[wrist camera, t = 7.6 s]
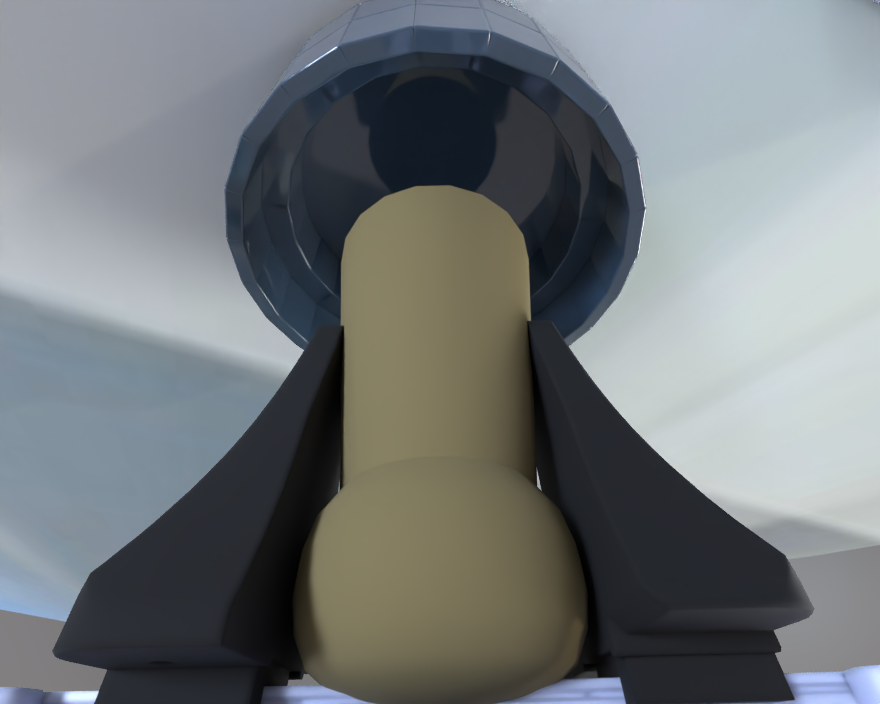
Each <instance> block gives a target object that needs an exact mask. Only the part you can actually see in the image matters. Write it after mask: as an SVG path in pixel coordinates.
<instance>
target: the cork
mask: <svg viewBox="0 0 880 704" xmlns="http://www.w3.org/2000/svg"><path fill="white" fill-rule="evenodd" d="M527 321H531V309H530V282H529V258H528V254H527V249H526V245H525V240H524V236H523V234H522V232H521V231H520V229H519V228H518V226H517V225H516V224H515V222H514V221H513V219H512V218H511V216H510V215H509V214H508V212H507V211H505V210H504V209H502V208H501V207H499V206H498V205H496V204H495V203H494V202H492V201H491V200H489V199H488V198H486V197H485V196H484V195H482V194H478V193H475V192H471V191H468V190H465V189H461V188H458V187H454V186H451V185H445V186H415V187H412V188H409V189H406V190H403V191H400V192H397V193H394V194H391V195H388V196H385V197H383V198H382V199H381V200H379V201H378V202H377V203H375V204H374V205H373V206H371V207H370V208H369V209H367V210H366V211H365V212H363V213H362V214H361V215H360V216H359V217H358V219H357V221H356V222H355V224H354V225H353V227H352V228H351V230H350V232H349V233H348V235H347V236H346V238H345V243H344V249H343V255H342V260H341V325H343V326H344V333H343V351H342V368H341V387H340V491H339V492H338V493H337V494H336V495H335V496H334V497H333V499H332V500H331V501H330V502H329V503H328V504H327V505H326V506H325V507H324V508H323V509H322V510H321V511H320V512H319V513H318V515H317V517H316V519H315V522H314V524H313V526H312V528H311V531H310V533H309V535H308V538H307V540H306V542H305V544H304V547H303V550H302V554H301V558H300V562H299V567H298V572H297V577H296V582H295V587H294V592H293V597H292V611H293V636H294V639H295V642H296V645H297V648H298V651H299V654H300V657H301V660H302V663H303V666H304V669H305V671H306V672H307V673H308V674H309V675H310V676H311V677H312V678H314V679H315V680H316V681H317V682H318V683H319V684H320V685H322V686H324V687H325V688H328V689H331V690H334V691H337V692H340V693H343V694H346V695H348V696H351V697H353V698H355V699H358V700H361V701H365V702H369V703H375V704H495V703H499V702H504V701H508V700H513V699H517V698H520V697H523V696H526V695H528V694H530V693H533V692H535V691H537V690H539V689H541V688H544V687H547V686H549V685H552V684H554V683H557V682H559V681H560V680H561V679H564V678H565V677H566V676H567V675H568V674H569V673H570V672H571V671H572V670H573V669H574V668H575V667H576V666H577V664H578V661H579V658H580V655H581V651H582V648H583V645H584V641H585V638H586V635H587V631H588V590H587V586H586V581H585V577H584V573H583V568H582V564H581V560H580V556H579V553H578V549H577V546H576V543H575V541H574V538H573V536H572V534H571V532H570V530H569V528H568V526H567V524H566V522H565V519H564V517H563V515H562V513H561V511H560V509H559V508H558V507H557V506H556V505H555V504H554V503H553V502H552V501H551V500H550V499H549V498H548V497H547V496H546V495H545V494H544V493H543V492H542V491H541V490H540V489H539V488H538V487H537V470H536V443H535V416H534V390H533V373H532V365H531V356H530V345H529V335H528V324H527Z"/></svg>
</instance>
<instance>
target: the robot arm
mask: <svg viewBox="0 0 880 704" xmlns="http://www.w3.org/2000/svg"><path fill="white" fill-rule="evenodd" d="M872 1H873V2H875V3H877V4H879V5H880V0H872ZM527 324H528V335H529V345H530V356H531V365H532V373H533V390H534V416H535V443H536V467H537V471H538V475H539V480H540V485H541V490H542V492H543V493H544V494H545V495H546V496H547V497H548V498H549V499H550V500H551V501H552V502H553V503H554V504H555V505H556V506H557V507H558V508H559V509H560V511H561V513H562V515H563V517H564V519H565V522H566V524H567V526H568V528H569V530H570V532H571V534H572V536H573V538H574V541H575V543H576V546H577V549H578V553H579V556H580V560H581V564H582V568H583V573H584V577H585V581H586V586H587V590H588V631H587V635H586V638H585V641H584V645H583V648H582V651H581V655H580V658H579V661H578V664H577V666H576V667H575V668H574V669H573V670H572V671H571V672H570V673H569V674H568V675H567V676H566V677H565V678H564V679H561V680H560V681H559V682H557V683H554V684H552V685H549V686H547V687H544V688H541V689H539V690H537V691H535V692H533V693H530V694H528V695H526V696H523V697H520V698H517V699H513V700H508V701H504V702H499V703H495V704H880V665H871V666H862V667H855V668H851V669H846V670H845V672H813V673H783V671H782V669H781V666H780V664H779V662H778V660H777V657H776V655H775V653H777V652H781V646H780V644H779V642H778V639H777V637H776V635H775V633H774V630H775V629H778V628H781V627H784V626H787V625H790V624H792V623H795V622H799V621H801V620H803V619H806V618H808V617H809V616H810V615H811V614H812V613H813V611H814V607H813V605H812V603H811V602H810V600H809V598H808V596H807V594H806V592H805V590H804V588H803V585H802V583H801V582H800V580H799V578H798V576H797V574H796V572H795V571H794V569H793V568H792V566H791V565H790V563H789V561H788V559H787V558H786V556H785V555H784V554H783V553H781V552H780V551H778V550H777V549H776V548H774V547H773V546H771V545H770V544H769V543H767V542H766V541H764V540H763V539H762V538H760V537H759V536H758V535H756V534H755V533H753V532H752V531H751V530H749V529H748V528H746V527H745V526H744V525H742V524H741V523H739V522H738V521H737V520H735V519H734V518H733V517H731V516H730V515H729V514H727V513H726V512H725V511H724V510H722V509H721V508H720V507H719V506H717V505H716V504H715V503H714V502H712V501H711V500H710V499H709V498H707V497H706V496H705V495H704V494H703V493H701V492H700V491H699V490H698V489H697V488H696V487H695V486H693V485H692V484H691V483H690V482H689V481H688V480H687V479H685V478H684V477H683V476H682V475H681V474H680V473H679V472H677V471H676V470H675V469H674V468H673V467H672V466H670V465H669V464H668V463H667V462H666V461H665V460H664V459H663V458H662V457H661V456H660V455H659V454H658V453H657V452H656V451H655V450H654V449H653V448H652V447H651V446H650V445H649V444H648V443H647V442H646V441H645V440H644V439H643V438H642V437H641V436H640V435H639V434H638V433H637V432H636V431H635V430H634V429H633V428H632V427H631V426H630V425H629V424H628V422H627V421H626V420H625V419H624V418H623V417H622V416H621V415H620V413H619V412H618V411H617V410H616V409H615V408H614V406H613V405H612V404H611V403H610V402H609V400H608V399H607V398H606V397H605V396H604V394H603V393H602V392H601V391H600V389H599V388H598V387H597V385H596V384H595V383H594V382H593V380H592V379H591V378H590V376H589V375H588V374H587V372H586V371H585V370H584V368H583V367H582V365H581V364H580V363H579V361H578V360H577V358H576V357H575V356H574V354H573V353H572V351H571V350H570V348H569V347H568V345H567V344H566V342H565V341H564V339H563V338H562V336H561V334H560V333H559V331H558V330H557V328H556V326H555V325H554V323H553V322H552V321H551V320H546V321H527ZM343 333H344V326H343V325H340V326H320V327H319V328H318V329H317V330H316V332H315V334H314V335H313V337H312V339H311V340H310V342H309V344H308V345H307V347H306V349H305V350H304V352H303V354H302V355H301V357H300V358H299V360H298V361H297V363H296V365H295V366H294V368H293V369H292V371H291V372H290V374H289V375H288V376H287V378H286V379H285V381H284V382H283V384H282V385H281V387H280V388H279V390H278V391H277V392H276V394H275V395H274V397H273V398H272V399H271V400H270V402H269V403H268V404H267V406H266V407H265V408H264V410H263V411H262V412H261V414H260V415H259V416H258V417H257V419H256V420H255V421H254V423H253V424H252V425H251V426H250V427H249V429H248V430H247V431H246V432H245V433H244V434H243V436H242V437H241V438H240V439H239V440H238V441H237V442H236V444H235V445H234V446H233V447H232V448H231V449H230V450H229V451H228V453H227V454H226V455H225V456H224V457H223V458H222V459H221V460H220V461H219V462H218V463H217V464H216V465H215V466H214V467H213V468H212V469H211V470H210V471H209V472H208V473H207V474H206V475H205V476H204V477H203V478H202V479H201V480H200V481H199V482H198V483H197V484H196V485H195V486H194V487H193V488H192V489H191V490H190V491H189V492H188V493H187V494H185V495H184V496H183V497H182V498H181V499H180V500H179V501H178V502H177V503H175V504H174V505H173V506H172V507H171V508H170V509H169V510H168V511H166V512H165V513H164V514H163V515H162V516H161V517H160V518H159V519H158V520H156V521H155V522H154V523H153V524H152V525H151V526H149V527H148V528H147V529H146V530H145V531H143V532H142V533H141V534H140V535H139V536H137V537H136V538H135V539H133V540H132V541H131V542H130V543H128V544H127V545H126V546H125V547H123V548H122V549H121V550H120V551H118V552H117V553H116V554H115V555H113V556H112V557H111V558H110V559H108V560H107V561H106V562H105V563H103V564H102V565H101V566H99V567H98V568H97V569H95V570H94V571H93V572H92V573H90V575H89V577H88V579H87V581H86V582H85V584H84V586H83V588H82V589H81V591H80V593H79V595H78V597H77V599H76V601H75V604H74V606H73V608H72V610H71V612H70V614H69V617H68V619H67V621H66V623H65V625H64V627H63V630H62V632H61V634H60V636H59V638H58V640H57V642H56V644H55V647H54V649H53V653H54V655H55V657H57V658H59V659H62V660H65V661H69V662H74V663H79V664H84V665H88V666H93V667H97V668H103V669H107V672H106V675H105V677H104V680H103V682H102V685H101V687H100V690H99V691H72V692H43V690H38V689H31V688H18V687H0V704H375V703H369V702H365V701H361V700H358V699H355V698H353V697H351V696H348V695H346V694H343V693H340V692H337V691H334V690H331V689H328V688H325V687H324V686H322V685H305V686H287V684H288V680H296V679H302V678H303V674H308V673H307V672H306V671H305V669H304V666H303V663H302V660H301V657H300V654H299V651H298V648H297V645H296V642H295V639H294V636H293V611H292V597H293V592H294V587H295V582H296V577H297V572H298V567H299V562H300V558H301V554H302V550H303V547H304V544H305V542H306V540H307V538H308V535H309V533H310V531H311V528H312V526H313V524H314V522H315V519H316V517H317V515H318V513H319V512H320V511H321V510H322V509H323V508H324V507H325V506H326V505H327V504H328V503H329V502H330V501H331V500H332V499H333V497H334V496H335V495H336V494H337V493H338V487H339V481H340V387H341V368H342V351H343Z"/></svg>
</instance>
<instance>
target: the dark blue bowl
mask: <svg viewBox="0 0 880 704" xmlns="http://www.w3.org/2000/svg"><path fill="white" fill-rule="evenodd" d="M445 185H451V186H454V187H458V188H461V189H465V190H468V191H471V192H475V193H478V194H482V195H484V196H485V197H486V198H488V199H489V200H491V201H492V202H494V203H495V204H496V205H498V206H499V207H501V208H502V209H504V210H505V211H507V212H508V214H509V215H510V216H511V218H512V219H513V221H514V222H515V224H516V225H517V226H518V228H519V229H520V231H521V232H522V234H523V236H524V240H525V245H526V249H527V254H528V258H529V282H530V309H531V321H546V320H551V321H552V322H553V323H554V325H555V326H556V328H557V330H558V331H559V333H560V334H561V336H562V338H563V339H564V341H565V342H566V344H567V345H568V346H570V345H571V344H572V343H573V342H575V341H576V340H577V339H578V338H580V337H581V336H582V335H584V334H585V333H586V332H587V331H589V330H590V329H591V328H592V327H593V326H594V325H595V324H596V322H597V321H598V320H599V319H600V318H601V316H602V315H603V314H604V313H605V312H606V310H607V309H608V308H609V307H610V306H611V304H612V303H613V302H614V301H615V300H616V298H617V297H618V295H619V294H620V292H621V290H622V288H623V286H624V284H625V282H626V280H627V278H628V275H629V273H630V271H631V269H632V267H633V265H634V263H635V261H636V259H637V257H638V254H639V249H640V242H641V236H642V230H643V224H644V218H645V212H646V203H645V196H644V190H643V184H642V177H641V171H640V165H639V158H638V156H637V152H636V150H635V149H634V147H633V145H632V143H631V141H630V139H629V137H628V136H627V134H626V132H625V130H624V128H623V126H622V125H621V123H620V121H619V119H618V117H617V115H616V114H615V112H614V110H613V108H612V106H611V105H610V103H609V102H608V101H607V99H606V98H605V97H604V95H603V94H602V93H601V92H600V90H599V89H598V88H597V86H596V85H595V84H594V82H593V81H592V80H591V79H590V77H589V76H588V75H587V73H586V72H585V71H584V69H583V68H582V67H581V65H580V64H579V63H578V62H577V60H576V59H575V58H574V56H573V55H572V54H571V53H570V52H569V50H567V49H566V48H565V47H564V46H563V45H562V44H561V43H560V42H559V41H558V40H557V39H555V38H554V37H553V36H552V35H551V34H550V33H549V32H548V31H547V30H546V29H544V28H543V27H542V26H541V25H540V24H539V23H538V22H537V21H536V20H535V19H534V18H532V17H529V16H528V15H527V14H526V13H523V12H521V11H519V10H517V9H514V8H512V7H510V6H507V5H505V4H503V3H500V2H498V1H496V0H369V1H366V2H362V3H361V4H357V5H356V6H354V7H353V8H351V9H350V10H348V11H347V12H345V13H344V14H343V15H341V16H340V17H338V18H337V19H335V20H334V21H332V22H331V23H329V24H328V25H326V26H325V27H323V28H322V29H321V30H319V31H318V32H316V33H315V34H314V35H313V36H312V37H311V38H310V39H309V40H308V41H307V43H306V44H305V45H304V47H303V48H302V49H301V51H300V52H299V53H298V55H297V56H296V57H295V59H294V60H293V61H292V63H291V64H290V65H289V67H288V68H287V69H286V71H285V72H284V73H283V75H282V76H281V78H280V79H279V80H278V82H277V83H276V85H275V86H274V88H273V89H272V90H271V92H270V93H269V95H268V96H267V98H266V99H265V100H264V102H263V103H262V105H261V106H260V108H259V109H258V110H257V112H256V113H255V115H254V116H253V118H252V119H251V120H250V122H249V123H248V125H247V126H246V128H245V129H244V130H243V132H242V134H241V136H240V139H239V142H238V146H237V149H236V152H235V155H234V158H233V162H232V165H231V168H230V171H229V175H228V178H227V181H226V184H225V213H226V237H227V241H228V244H229V247H230V250H231V253H232V255H233V258H234V261H235V264H236V267H237V270H238V272H239V275H240V278H241V281H242V283H243V285H244V286H245V288H246V289H247V291H248V292H249V293H250V295H251V296H252V298H253V299H254V301H255V302H256V303H257V305H258V306H259V308H260V309H261V311H262V312H263V314H264V315H265V316H266V318H268V320H269V321H271V322H272V323H273V324H274V325H275V326H276V327H277V328H278V329H279V330H281V331H282V332H283V333H284V334H285V335H286V336H287V337H288V338H289V339H291V340H292V341H293V342H294V343H295V344H296V345H297V346H299V347H300V348H302V349H303V350H305V349H306V347H307V345H308V344H309V342H310V340H311V339H312V337H313V335H314V334H315V332H316V330H317V329H318V328H319V327H320V326H340V325H341V260H342V255H343V249H344V243H345V238H346V236H347V235H348V233H349V232H350V230H351V228H352V227H353V225H354V224H355V222H356V221H357V219H358V217H359V216H360V215H361V214H362V213H363V212H365V211H366V210H367V209H369V208H370V207H371V206H373V205H374V204H375V203H377V202H378V201H379V200H381V199H382V198H383V197H385V196H388V195H391V194H394V193H397V192H400V191H403V190H406V189H409V188H412V187H415V186H445Z"/></svg>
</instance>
